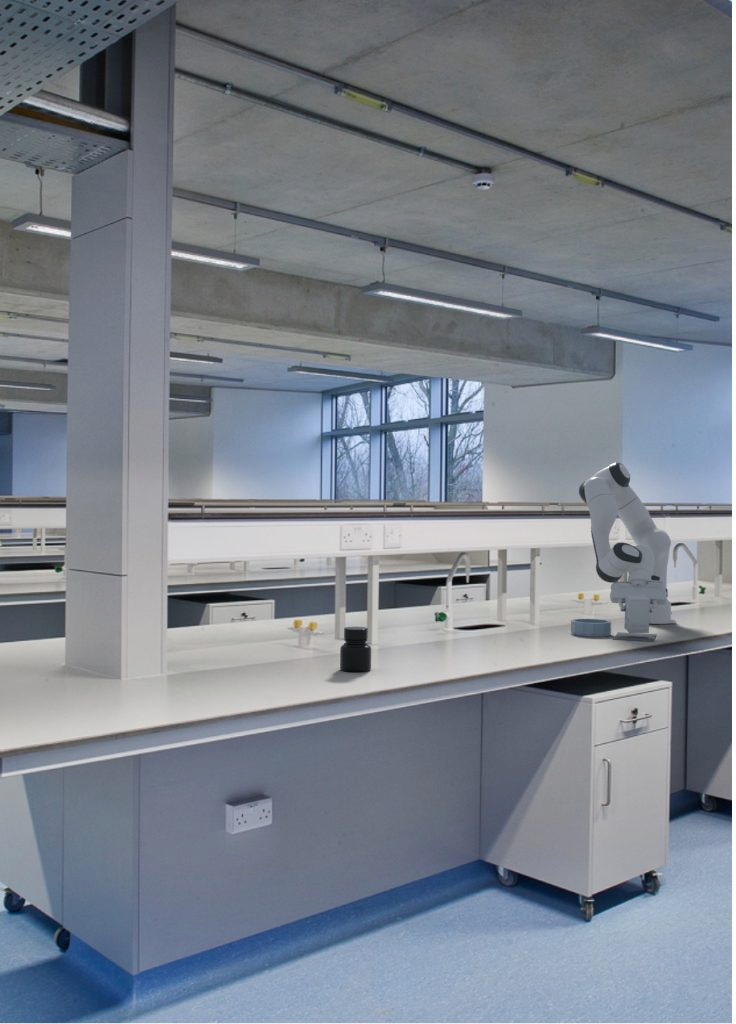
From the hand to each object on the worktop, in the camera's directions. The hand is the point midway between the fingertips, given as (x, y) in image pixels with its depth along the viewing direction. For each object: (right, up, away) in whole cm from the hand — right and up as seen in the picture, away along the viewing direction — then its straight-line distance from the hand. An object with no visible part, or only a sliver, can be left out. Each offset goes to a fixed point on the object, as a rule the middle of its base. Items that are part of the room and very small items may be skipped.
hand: (636, 611), depth 342 cm
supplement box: (0, -7, +1) cm, 8 cm away
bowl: (-15, -9, +7) cm, 19 cm away
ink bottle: (-102, -9, -75) cm, 127 cm away
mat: (0, -10, +1) cm, 10 cm away
